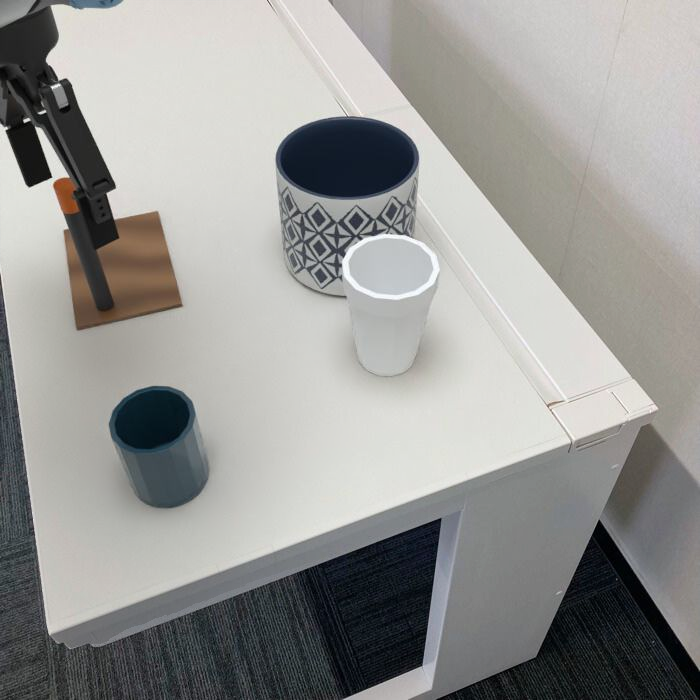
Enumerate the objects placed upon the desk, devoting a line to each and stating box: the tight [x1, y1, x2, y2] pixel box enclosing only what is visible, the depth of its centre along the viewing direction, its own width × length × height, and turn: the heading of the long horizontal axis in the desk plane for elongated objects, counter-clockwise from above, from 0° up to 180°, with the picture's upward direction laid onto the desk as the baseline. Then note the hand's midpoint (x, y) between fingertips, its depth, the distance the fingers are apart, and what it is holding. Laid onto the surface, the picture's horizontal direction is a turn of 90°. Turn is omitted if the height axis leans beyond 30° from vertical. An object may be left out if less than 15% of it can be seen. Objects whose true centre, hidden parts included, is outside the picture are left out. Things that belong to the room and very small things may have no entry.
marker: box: [52, 176, 114, 311], centre depth 82 cm, size 2×2×17 cm
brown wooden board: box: [63, 210, 184, 331], centre depth 94 cm, size 18×12×1 cm, turn 18°
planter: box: [274, 115, 420, 297], centre depth 90 cm, size 16×16×14 cm
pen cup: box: [108, 385, 210, 509], centre depth 71 cm, size 7×7×9 cm
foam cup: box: [342, 234, 441, 377], centre depth 79 cm, size 10×9×13 cm
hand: (71, 210), depth 78 cm, fingers open, 13 cm apart
